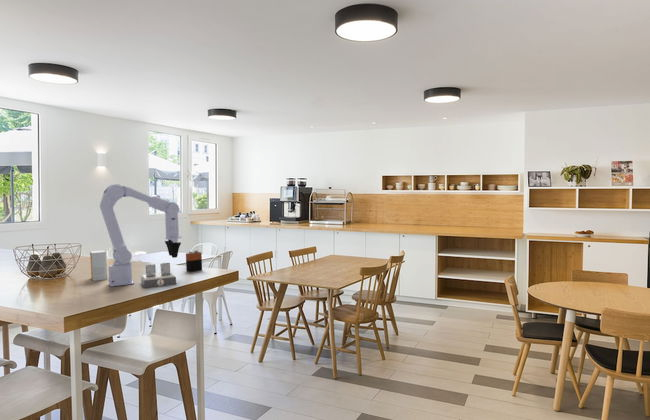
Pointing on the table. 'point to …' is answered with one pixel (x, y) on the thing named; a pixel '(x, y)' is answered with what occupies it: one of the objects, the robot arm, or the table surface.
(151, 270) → the block
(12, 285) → the table surface
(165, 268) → the steel spacer
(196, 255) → the battery
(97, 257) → the small box
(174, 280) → the kitchen scale
